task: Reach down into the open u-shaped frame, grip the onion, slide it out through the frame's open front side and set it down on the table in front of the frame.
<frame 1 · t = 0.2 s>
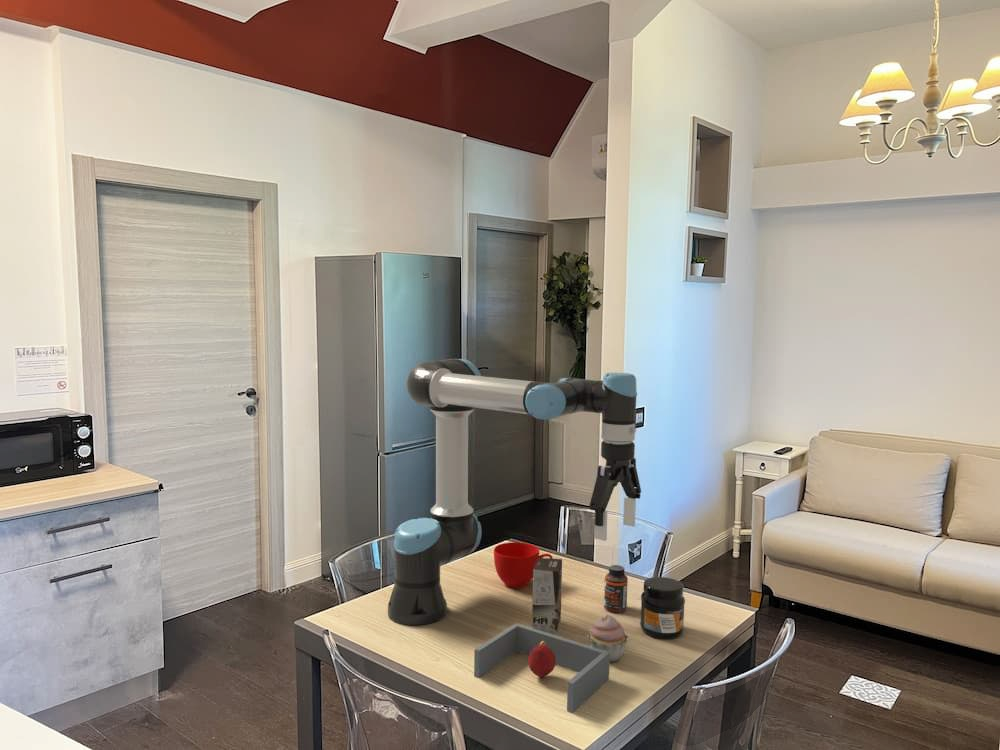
hand: (615, 532, 168), 28 cm above the table, tool pointing down, fingers open, 13 cm apart
coffee box: (546, 627, 182), on the table
onion: (541, 678, 157), on the table
open u-shaped frame: (541, 677, 157), on the table
supplement container: (661, 631, 180), on the table
supplement bottle: (615, 609, 193), on the table
cupcake: (606, 657, 167), on the table
ceramic cup: (522, 584, 209), on the table
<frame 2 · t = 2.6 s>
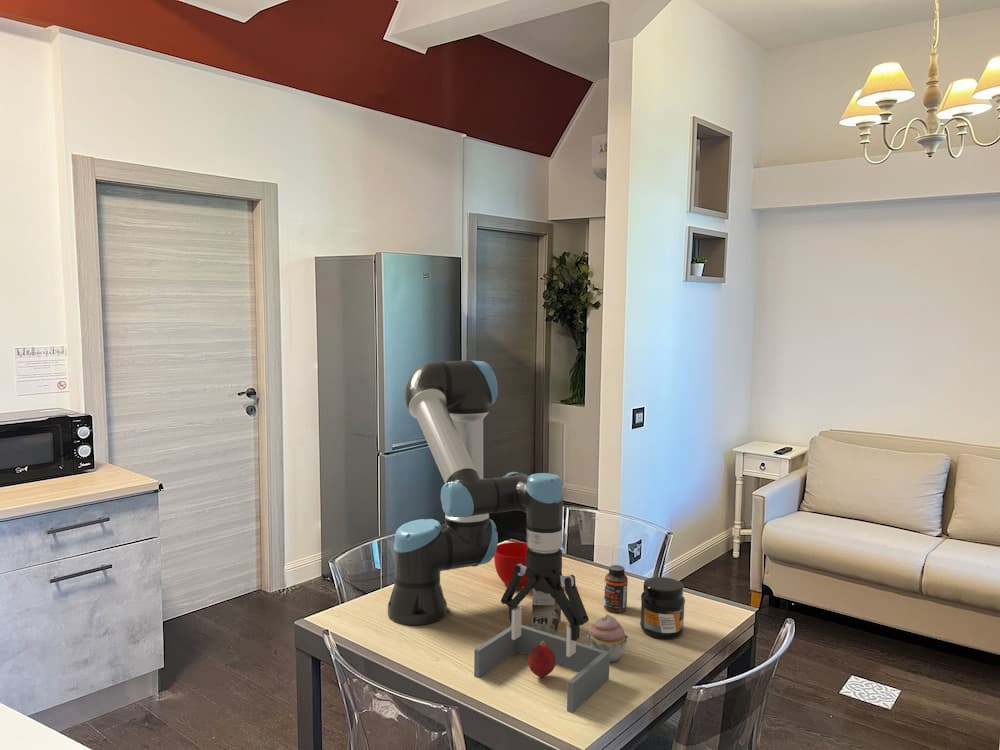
hand: (543, 645, 156), 7 cm above the table, tool pointing down, fingers open, 13 cm apart
nothing on the table moved.
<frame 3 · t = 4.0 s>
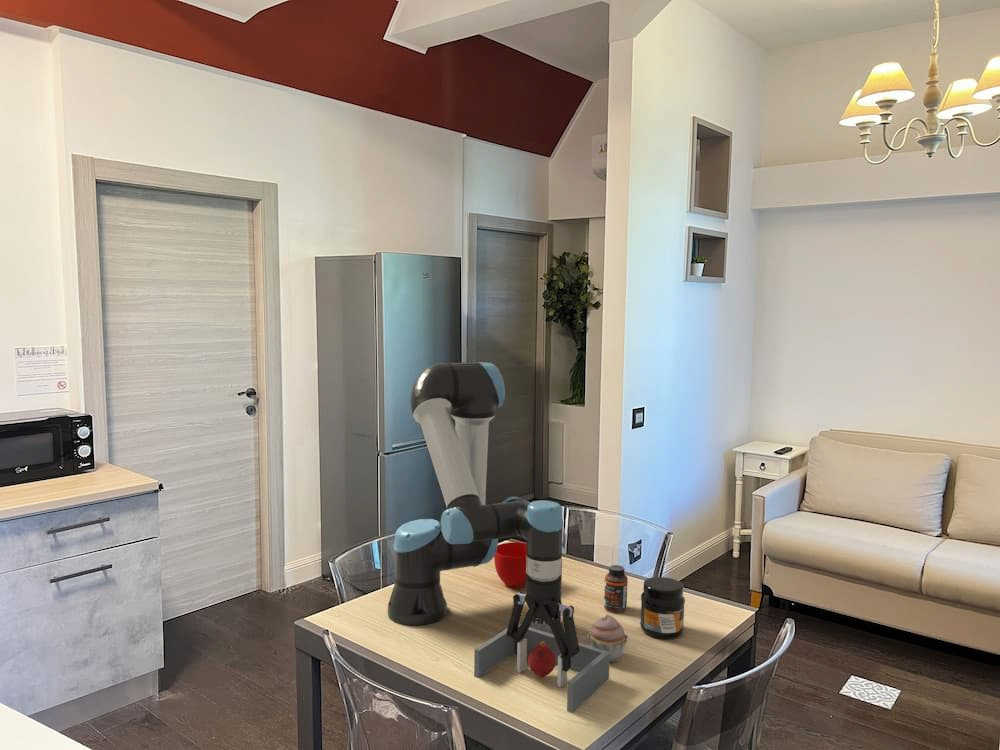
hand: (541, 676, 157), 0 cm above the table, tool pointing down, fingers open, 9 cm apart
nothing on the table moved.
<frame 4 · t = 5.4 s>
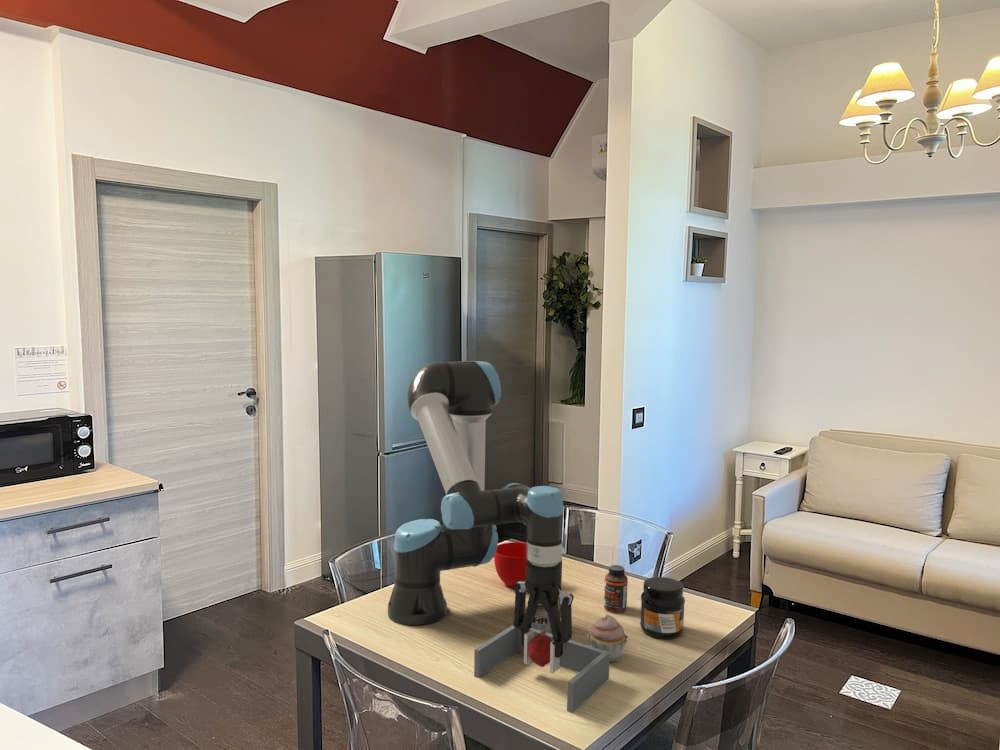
hand: (541, 665, 157), 3 cm above the table, tool pointing down, fingers closed on onion, 6 cm apart
onion: (541, 667, 157), point 2 cm above the table, touching gripper
everything else where it was.
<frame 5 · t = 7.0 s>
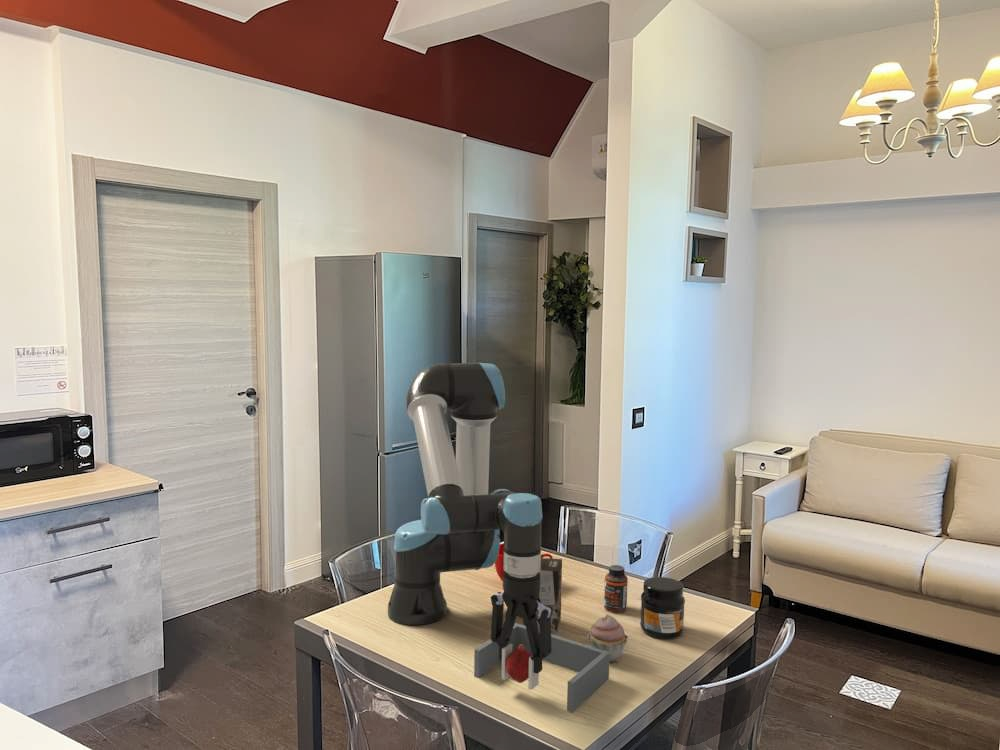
hand: (519, 681, 149), 3 cm above the table, tool pointing down, fingers closed on onion, 6 cm apart
onion: (520, 683, 149), point 2 cm above the table, touching gripper
everything else where it was.
when the fingers open (1 cm above the table, at t = 8.9 s): onion stays where it is, on the table.
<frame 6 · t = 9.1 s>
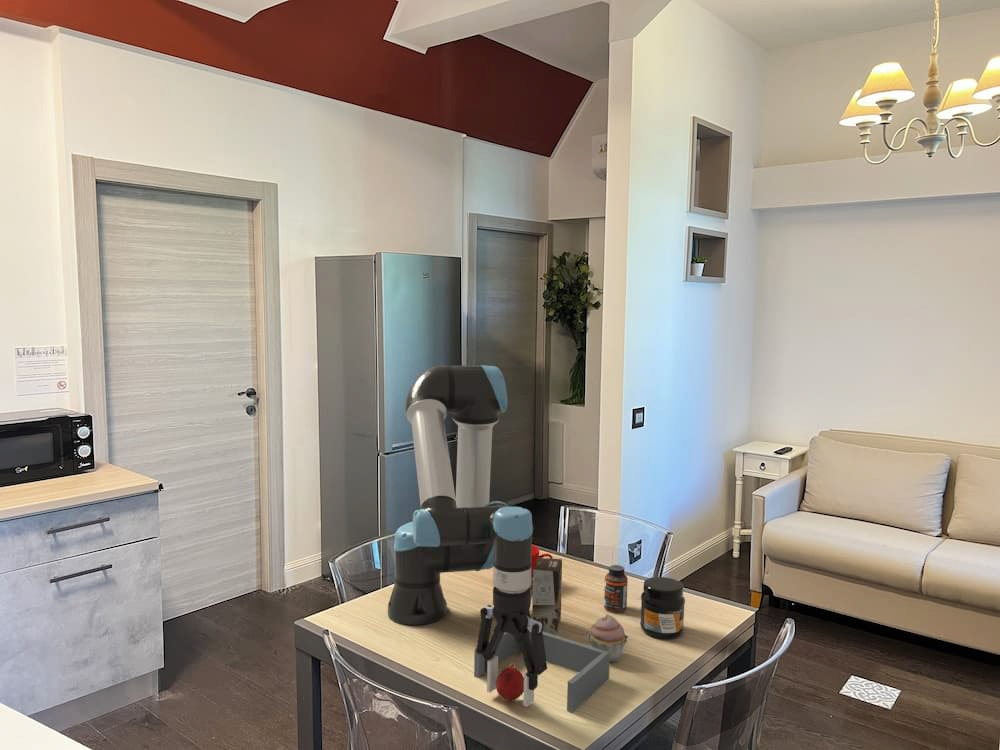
hand: (510, 696, 147), 1 cm above the table, tool pointing down, fingers open, 8 cm apart
onion: (509, 702, 147), on the table
everything else where it was.
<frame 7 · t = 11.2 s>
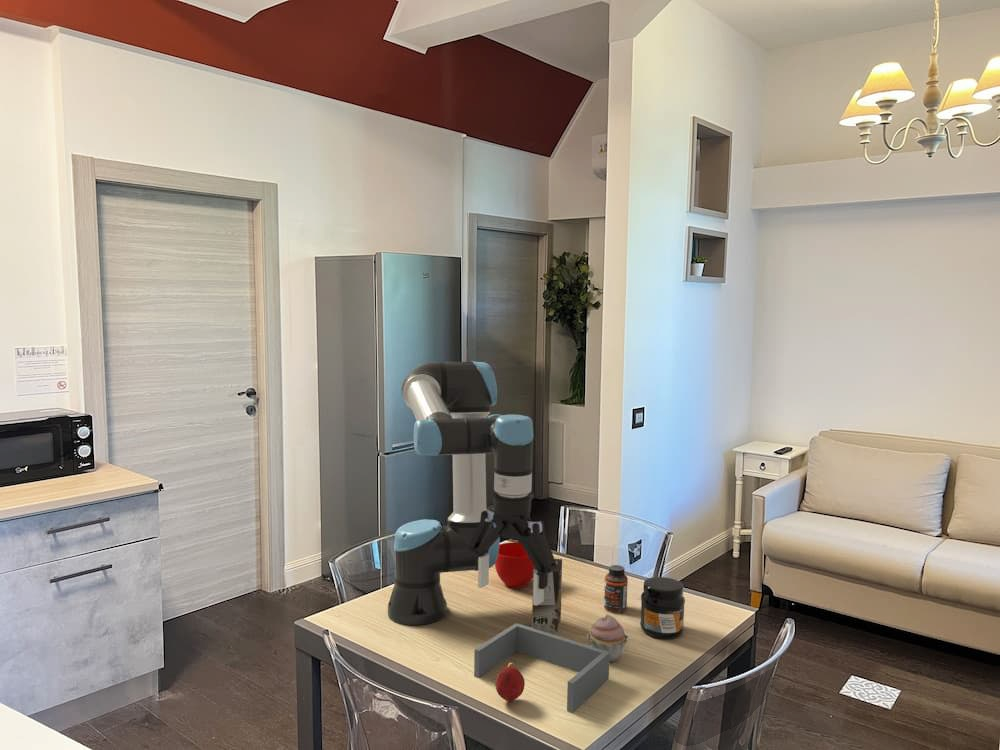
hand: (510, 594, 149), 21 cm above the table, tool pointing down, fingers open, 13 cm apart
nothing on the table moved.
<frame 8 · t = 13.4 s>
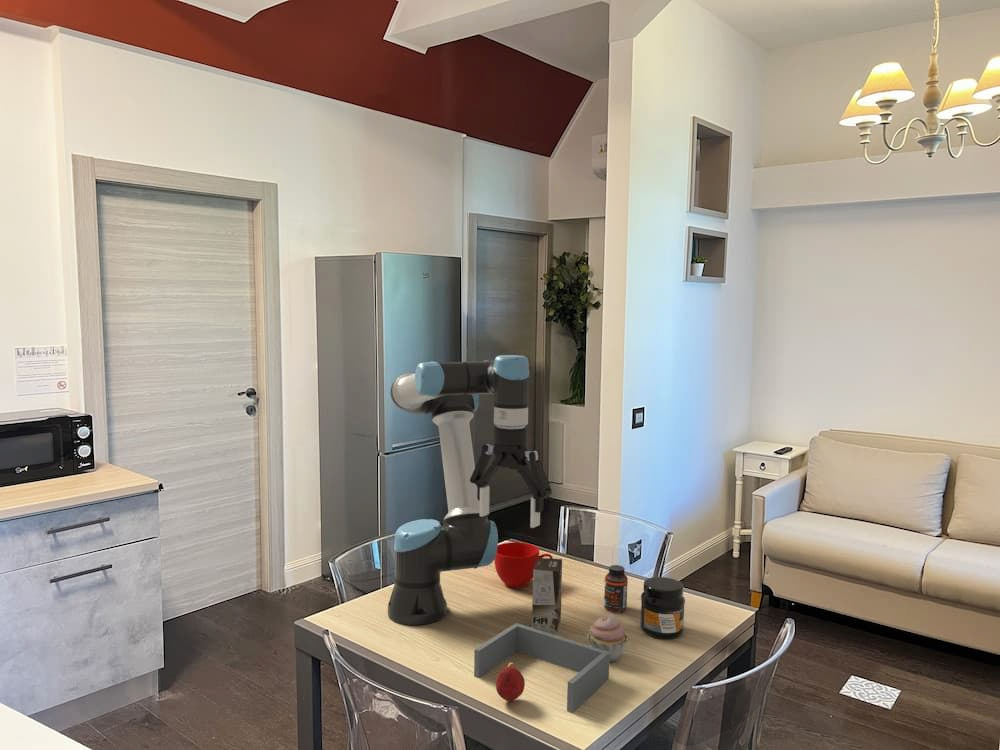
hand: (509, 520, 162), 32 cm above the table, tool pointing down, fingers open, 13 cm apart
nothing on the table moved.
at the end: onion inside the target area (1.9 cm from its centre), on the table; the gripper is holding nothing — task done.
